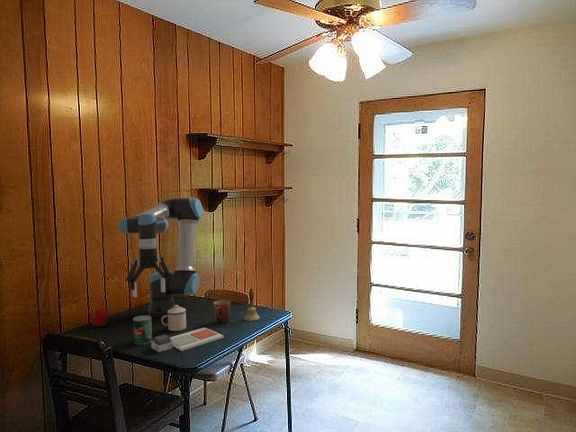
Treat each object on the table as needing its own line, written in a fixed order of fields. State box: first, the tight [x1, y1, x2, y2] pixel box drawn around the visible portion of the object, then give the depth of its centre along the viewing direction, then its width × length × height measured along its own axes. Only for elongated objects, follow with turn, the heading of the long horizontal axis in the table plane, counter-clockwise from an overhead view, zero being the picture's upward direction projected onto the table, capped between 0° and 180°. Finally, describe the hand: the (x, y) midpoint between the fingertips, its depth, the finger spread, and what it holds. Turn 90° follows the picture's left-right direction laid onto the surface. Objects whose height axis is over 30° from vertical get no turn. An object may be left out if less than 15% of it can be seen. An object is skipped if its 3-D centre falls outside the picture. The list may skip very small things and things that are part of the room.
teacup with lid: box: [160, 304, 187, 332], centre depth 204 cm, size 12×9×12 cm
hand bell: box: [243, 288, 261, 322], centre depth 217 cm, size 8×8×16 cm
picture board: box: [169, 326, 224, 352], centre depth 189 cm, size 16×22×1 cm
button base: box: [150, 340, 175, 353], centre depth 180 cm, size 7×7×3 cm
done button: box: [153, 334, 171, 345], centre depth 180 cm, size 5×5×3 cm
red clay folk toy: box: [92, 297, 109, 328], centre depth 211 cm, size 8×7×15 cm
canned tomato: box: [132, 314, 154, 346], centre depth 188 cm, size 8×8×11 cm
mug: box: [212, 299, 231, 325], centre depth 211 cm, size 12×9×10 cm
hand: (149, 294), depth 188 cm, fingers open, 13 cm apart
